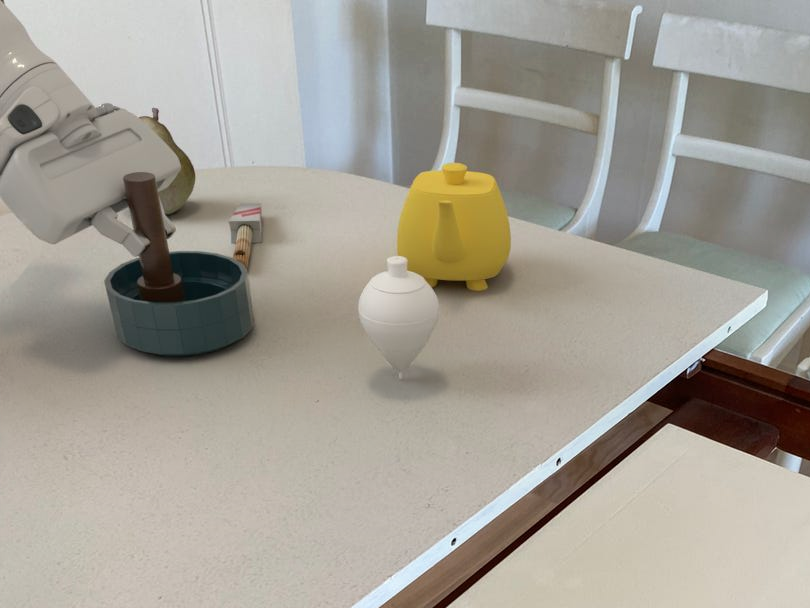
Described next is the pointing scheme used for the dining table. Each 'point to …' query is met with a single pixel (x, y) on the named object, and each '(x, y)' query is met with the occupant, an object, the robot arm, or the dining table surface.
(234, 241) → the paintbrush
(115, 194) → the robot arm
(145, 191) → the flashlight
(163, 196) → the fruit
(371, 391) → the dining table surface
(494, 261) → the teapot
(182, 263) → the bowl
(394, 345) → the spinning top
